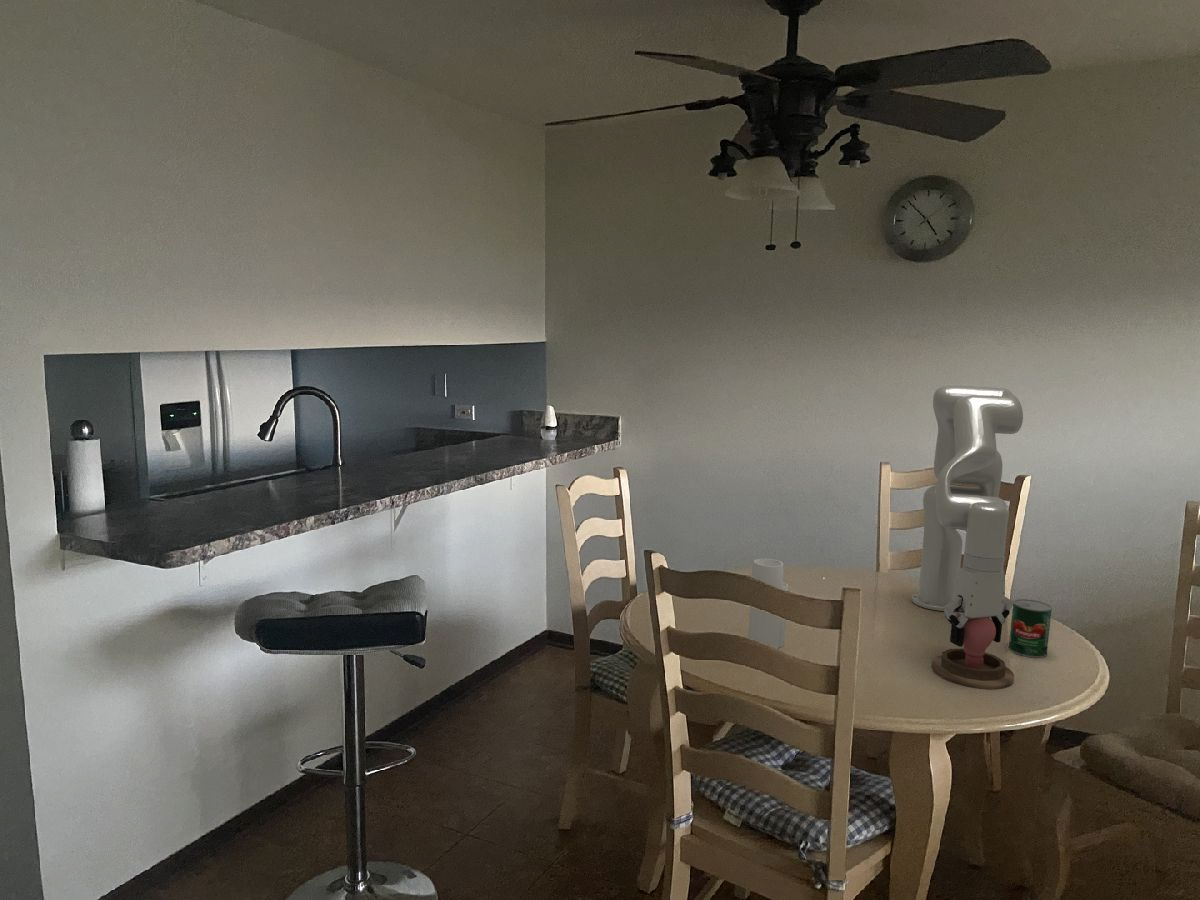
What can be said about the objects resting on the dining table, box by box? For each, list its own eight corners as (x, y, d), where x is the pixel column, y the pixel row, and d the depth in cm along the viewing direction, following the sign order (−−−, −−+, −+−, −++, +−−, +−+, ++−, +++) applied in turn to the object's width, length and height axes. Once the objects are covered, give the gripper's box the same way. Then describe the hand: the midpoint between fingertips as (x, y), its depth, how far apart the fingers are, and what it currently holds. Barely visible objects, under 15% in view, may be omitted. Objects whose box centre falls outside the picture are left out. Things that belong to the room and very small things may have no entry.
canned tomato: (1038, 646, 201) (1044, 600, 199) (1052, 659, 193) (1058, 611, 191) (1002, 643, 202) (1007, 597, 200) (1015, 656, 194) (1020, 609, 192)
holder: (955, 652, 195) (956, 640, 194) (1027, 676, 182) (1029, 663, 182) (916, 669, 185) (917, 655, 184) (990, 695, 172) (991, 681, 172)
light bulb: (948, 666, 183) (955, 612, 181) (961, 658, 188) (968, 605, 186) (983, 678, 179) (991, 622, 177) (995, 668, 184) (1003, 614, 182)
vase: (774, 658, 188) (780, 568, 185) (741, 652, 191) (747, 563, 188) (786, 642, 198) (792, 556, 195) (755, 636, 201) (760, 551, 198)
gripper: (1002, 555, 186) (994, 632, 189) (936, 560, 181) (928, 639, 183) (1030, 565, 179) (1021, 644, 182) (962, 570, 174) (954, 652, 176)
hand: (975, 642), depth 182 cm, fingers open, 9 cm apart
